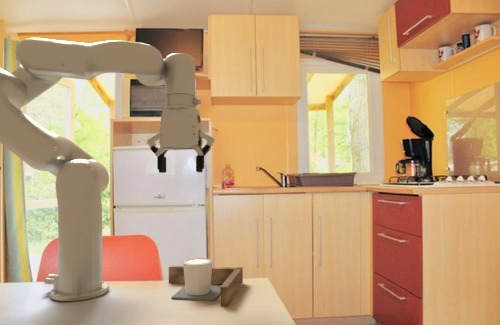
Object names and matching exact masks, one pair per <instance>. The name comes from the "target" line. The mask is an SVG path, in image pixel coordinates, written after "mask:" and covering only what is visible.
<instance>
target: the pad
mask: <svg viewBox="0 0 500 325" xmlns="http://www.w3.org/2000/svg"><path fill="white" fill-rule="evenodd" d="M221 286H222V285H215V284H211V287H210V292H209V293H207V294H203V295H190V294H187V293H186V288H185V285H184V286H183V287H182V288H181V289H179V290H178V291H177V292H176V293H175V294H173V295H171V300H186V301H203V302H205V301H207V302H215V301H217V300H218V298H219V297H218V296H220V287H221Z"/></svg>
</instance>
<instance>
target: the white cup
mask: <svg viewBox="0 0 500 325" xmlns="http://www.w3.org/2000/svg"><path fill="white" fill-rule="evenodd" d="M182 266H183V267H184V277H185V283H184V286H185V288H186V293H187V294H190V295H203V294H207V293H209V292H210V287H211V285H212V284H211V275H212V267H213V260H212V259H210V258H201V257H200V258H191V259H185V260H184V261H183V263H182Z"/></svg>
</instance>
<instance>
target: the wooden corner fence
mask: <svg viewBox="0 0 500 325" xmlns="http://www.w3.org/2000/svg"><path fill="white" fill-rule="evenodd" d="M243 268H244V267H241V266H236V267H228V266H227V267H225V266H212V275H211V285H215V284H222V285H220V286H221V287H220V295H219V296H220V298H219V299H220V303H219V304H220V307H227V308H228V307H229V306H230V304H231V302H232V301H233V299H234V297H235V296H236V295H237V293H238V291H239V290H240V288H241V287H242V285H243V284H242V283H244V282H243V281H244V280H243V279H244V275H243V274H244V273H243V272H244V271H243V270H244V269H243ZM168 283H169V284H185V277H184V267H183V265H170V266H168ZM241 284H242V285H241ZM240 286H241V287H240ZM238 289H239V290H238Z"/></svg>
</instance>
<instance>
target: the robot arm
mask: <svg viewBox="0 0 500 325" xmlns="http://www.w3.org/2000/svg"><path fill="white" fill-rule="evenodd" d="M14 51H15V59H16V61H17V64H18V65H19V66H20V67H18V68H17V69H15V70H14V71H12V72H8V71H7V70H6V69H3V68H1V67H0V144H1V145H2V146H3V147H4V148H6V149H7V150H8V151H10V152H11V153H13V155H15V156H17V157H18V158H19V159H20V160H22V161H23V162H24V163H25V164H26V165H28V166H29V167H30V168H32V169H35V170H38V171H40V172H41V171H43V172H49V173H51V175H53V176H55V177H56V178H55V194H56V201H57V217H58V218H57V219H58V220H57V221H58V222H57V223H58V225H57V228H58V230H57V231H58V232H57V233H58V234H57V236H58V237H57V273H49V274H47V276H46V278H45V279H44V280H43V281H44V284H45V285H53V289H51V290H50V293H49V294H50V295H49V297H50V299H52V300H54V301H59V302H77V301H84V300H85V301H86V300H90V299H93V298H98V297H99V296H102V295H104V294H106V293H108V291H109V290H110V284H109V283H108V282H106V281H103V207H102V206H103V205H102V204H103V203H102V193H104V192H105V191H106V189H107V188H108V185H109V182H110V175H109V172H108V170H107V168H106V167H105V166H104V165H103V164H102V163H101V162H100V161H98V159H96V158H94V157H93V156H91V155H90V154H89V153H88V152H86V151H85V150H83V149H82V148H81V147H80V146H78V145H77V144H76V143H74V142H73V141H72V140H70V139H68V138H67V137H65V136H64V135H61V134H58V133H55V132H53V131H50V130H48V129H46V128H45V127H43V126H41V125H40V123H38V122H36V121H35V120H33V119H32V118H31V117H29V115H27V114H26V113H25V112H24V111H22V110H20V109H19V108H23V107H24V106H26V105H28V104H29V103H31V102H32V101H33V100H35V99H36V98H38V97H39V96H41V95H42V94H44V93H45V92H46V91H48V90H49V89H51V88H52V87H54V86H55V85H56V84H58V83H59V82H60V81H61V80H62V79H63V78H68V79H75V80H77V79H79V80H85V81H86V80H88V81H89V80H93V79H95V78H96V77H98V76H100V75H103V74H109V73H111V74H114V73H115V74H116V73H117V74H118V73H119V74H128V75H135V78H136V79H137V81H138V82H139V83H140V84H142V85H144V86H147V87H160V86H165V87H164V89H165V90H164V94H165V96H164V97H165V98H164V100H165V101H164V102H165V103H164V105H165V106H164V108H163V109H162V112H161V117H160V124H159V133H157V134H155V135H154V136H151V137H150V138H148V139H147V141H146V142H147V144H148V146H149V148H150V151H151V152H153V154H154V155H155V156H156V157H157V158H156V159H157V160H156V161H157V164H156V166H157V170H158V173H162V174H165V173H166V172H167V157H166V156H165V155H166V154H167V153H168V151H169V150H172V151H174V150H175V151H176V150H177V151H178V150H180V151H182V150H194V151H195V153H196V154H197V155H196V156H195V171H196V172H197V173H203V171H204V169H205V156H207V154H208V152H210V150H212V146H213V145H214V143H215V141H216V139H215V138H214V137H213V136H210V135H209V134H206V133H205V132H203V130H202V129H203V128H202V119H201V118H202V117H201V113H200V110H199V109H197V106H199V105H202V99H201V98H198V97H197V96H196V95H197V94H196V60H195V58H194V57H193V56H192V55H191V54H188V53H184V52H175V53H171V54H168V55H167V56H166V57H165V58H163V55H162V53H161V51H160V50H159V49H157V48H156V47H155V46H153V45H150V44H147V43H144V42H137V41H136V42H135V41H128V40H127V41H126V40H117V39H116V40H104V41H97V42H93V43H87V42H86V43H85V42H76V41H67V40H58V39H57V40H56V39H49V38H41V37H29V38H25V39H22V40H20V41H19V43H18V44H17V45H16V48H15V50H14ZM203 140H206V144H204V146H203V142H204V141H203ZM156 142H159V147H157V145H156Z"/></svg>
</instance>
